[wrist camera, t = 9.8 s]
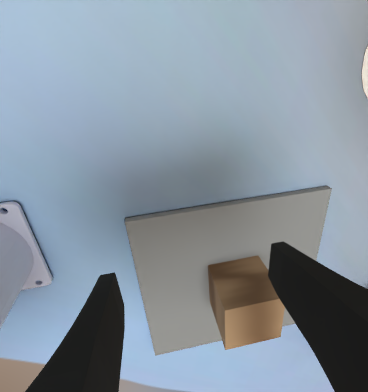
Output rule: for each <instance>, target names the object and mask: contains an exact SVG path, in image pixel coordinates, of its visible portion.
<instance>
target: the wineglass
mask: <svg viewBox="0 0 368 392" xmlns="http://www.w3.org/2000/svg"><path fill="white" fill-rule="evenodd" d="M362 81H363V89H364V92H365V94H366V96H367V98H368V47H367V49H366V52H365V56H364V62H363V68H362Z"/></svg>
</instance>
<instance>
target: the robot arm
mask: <svg viewBox="0 0 368 392" xmlns="http://www.w3.org/2000/svg"><path fill="white" fill-rule="evenodd" d="M2 208H5V209H7V210H8V212H6V211H4V210H3V209H2ZM268 277H269V279H270V281H271V284H272V286H273V288H274V290H275V292H276V294H277V296H278V297H279V299H280V300H281V302H282V304H283V305H284V307H285V308H286V310H287V311H288V313H289V314H290V316H291V317H292V319H293V320H294V322H295V323H296V325H297V327H298V328H299V330H300V331H301V333H302V334H303V336H304V337H305V339H306V340H307V342H308V343H309V345H310V347H311V348H312V350H313V352H314V353H315V355H316V357H317V359H318V361H319V363H320V364H321V366H322V368H323V370H324V372H325V374H326V376H327V377H328V379H329V381H330V383H331V385H332V387H333V389H334V391H335V392H368V289H366V288H364V287H362V286H360V285H358V284H356V283H354V282H352V281H350V280H349V279H347V278H345V277H343V276H341V275H339V274H337V273H336V272H334V271H332V270H330V269H329V268H327V267H325V266H324V265H322V264H320V263H318V262H317V261H315V260H314V259H312V258H310V257H309V256H307V255H305V254H304V253H302V252H300V251H299V250H297V249H296V248H294V247H292V246H291V245H289V244H287V243H285V242H284V241H283V242H277V243H272V244H271V251H270V260H269V270H268ZM38 280H40V281H41V282H40V281H38ZM52 280H53V278H52V275H51V273H50V271H49V269H48V266H47V264H46V262H45V260H44V257H43V255H42V253H41V251H40V249H39V246H38V244H37V242H36V240H35V237H34V235H33V233H32V231H31V228H30V226H29V224H28V222H27V219H26V217H25V215H24V213H23V210H22V208H21V206H20V205H19V204H18V203H16V202H4V203H0V329H1V327H2V325H3V323H4V321H5V319H6V318H7V316H8V314H9V312H10V310H11V308H12V306H13V304H14V302H15V301H16V299H17V297H18V295H19V293H20V291H21V290H25V289H31V288H36V287H41V286H47V285H50V284H51V282H52ZM123 339H124V303H123V299H122V296H121V292H120V288H119V285H118V281H117V278H116V274H115V273H110V274H105V275H100V277H99V278H98V280H97V282H96V284H95V286H94V288H93V290H92V292H91V294H90V296H89V297H88V299H87V301H86V303H85V305H84V306H83V308H82V310H81V312H80V313H79V315H78V317H77V319H76V320H75V322H74V324H73V325H72V327H71V328H70V330H69V331H68V333H67V335H66V336H65V338H64V339H63V341H62V342H61V344H60V345H59V347H58V348H57V350H56V351H55V353H54V354H53V355H52V357H51V358H50V360H49V361H48V362H47V364H46V365H45V367H44V368H43V369H42V371H41V372H40V373H39V375H38V376H37V377H36V378H35V380H34V381H33V382H32V384H31V385H30V386H29V387H28V389H27V390H26V391H25V392H118V391H119V380H120V369H121V359H122V349H123Z"/></svg>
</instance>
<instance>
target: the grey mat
mask: <svg viewBox="0 0 368 392" xmlns="http://www.w3.org/2000/svg"><path fill="white" fill-rule="evenodd" d="M331 190H332V188H330V187H328V186H323V187H317V188H311V189H304V190H298V191H292V192H286V193H280V194H273V195H267V196H261V197H255V198H248V199H242V200H236V201H230V202H223V203H217V204H211V205H205V206H198V207H192V208H186V209H180V210H173V211H167V212H161V213H155V214H148V215H142V216H136V217H130V218H125V225H126V229H127V234H128V238H129V242H130V247H131V251H132V256H133V260H134V264H135V269H136V273H137V277H138V282H139V286H140V290H141V295H142V299H143V303H144V308H145V312H146V317H147V321H148V325H149V330H150V334H151V338H152V343H153V347H154V351H155V356H156V355H160V354H164V353H169V352H173V351H178V350H182V349H186V348H191V347H195V346H199V345H204V344H208V343H212V342H217V341H221V340H222V338H221V335H220V332H219V329H218V325H217V322H216V319H215V316H214V313H213V310H212V307H211V304H210V296H209V278H208V265H211V264H216V263H222V262H227V261H232V260H237V259H242V258H247V257H252V256H259V257H260V259H261V260H262V262H263V263H264V265H265V266H266V268H267V269H268V270H269V260H270V251H271V244H272V243H277V242H283V241H284V242H285V243H287V244H289V245H291V246H292V247H294V248H296V249H297V250H299V251H300V252H302V253H304V254H305V255H307V256H309V257H310V258H312V259H314V260H315V261H316V259H317V254H318V250H319V245H320V240H321V236H322V231H323V227H324V222H325V217H326V213H327V208H328V204H329V199H330V194H331ZM291 324H295V322H294V320H293V319H292V317H291V316H290V314H289V313H288V311H287V310H286V308H285V310H284V317H283V323H282V326H287V325H291Z"/></svg>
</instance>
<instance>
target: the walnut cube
mask: <svg viewBox="0 0 368 392" xmlns="http://www.w3.org/2000/svg"><path fill="white" fill-rule="evenodd" d="M208 278H209V296H210V304H211V307H212V310H213V313H214V316H215V319H216V322H217V325H218V329H219V332H220V335H221V338H222V341H223V344H224V347H225V350H227V349H232V348H236V347H240V346H244V345H248V344H253V343H257V342H261V341H265V340H269V339H274V338H278V337H280V336H281V330H282V323H283V317H284V310H285V307H284V305H283V304H282V302H281V300H280V299H279V297H278V296H277V294H276V292H275V290H274V288H273V286H272V284H271V281H270V279H269V277H268V269H267V268H266V266H265V265H264V263H263V262H262V260H261V259H260V257H259V256H252V257H247V258H242V259H237V260H232V261H227V262H222V263H216V264H211V265H208Z"/></svg>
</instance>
